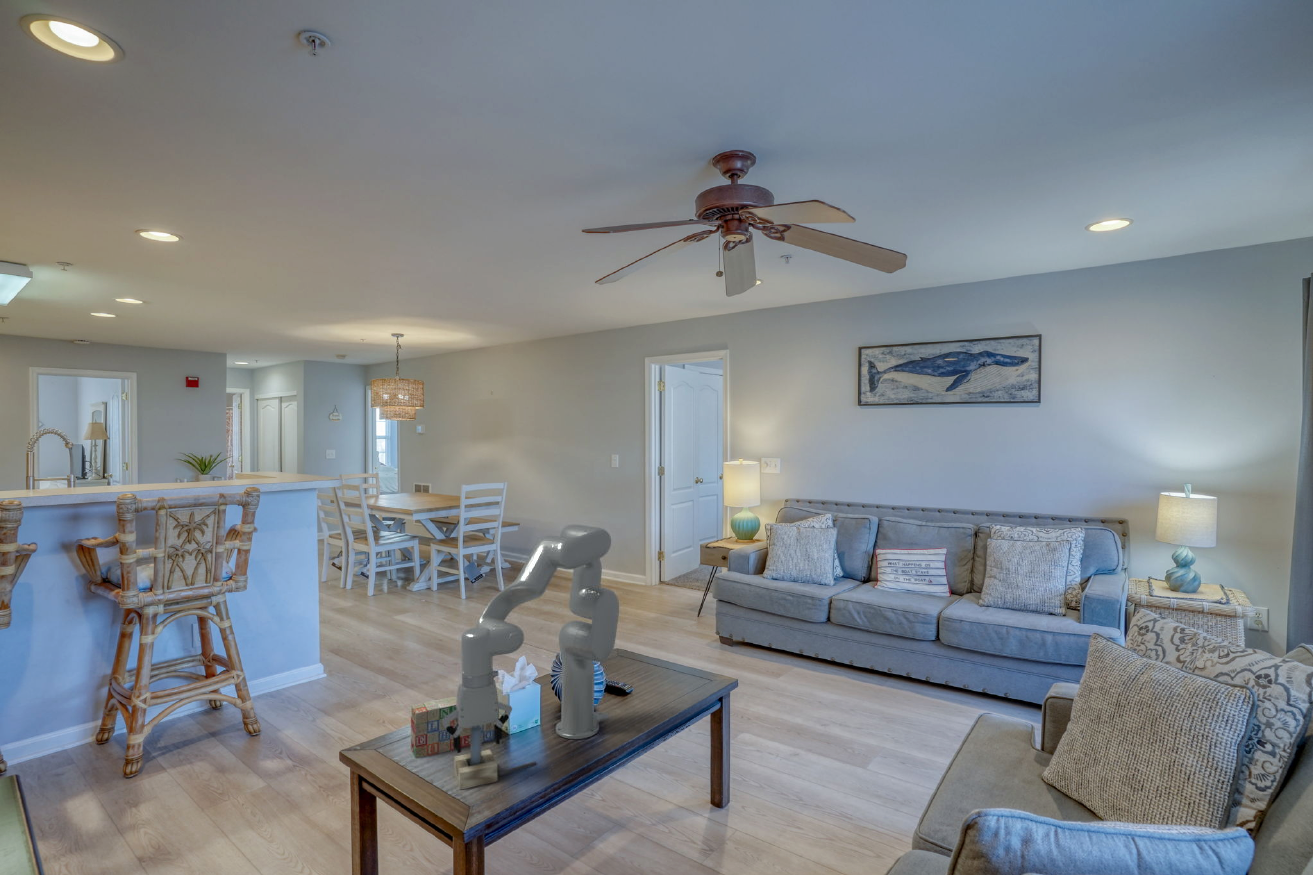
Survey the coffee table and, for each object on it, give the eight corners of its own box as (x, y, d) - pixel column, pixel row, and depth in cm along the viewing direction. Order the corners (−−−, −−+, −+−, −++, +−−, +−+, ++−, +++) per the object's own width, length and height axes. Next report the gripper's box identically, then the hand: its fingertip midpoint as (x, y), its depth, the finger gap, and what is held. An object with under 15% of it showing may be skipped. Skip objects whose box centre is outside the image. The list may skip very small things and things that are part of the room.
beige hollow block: (489, 764, 166) (489, 749, 166) (497, 781, 158) (497, 765, 158) (453, 772, 162) (454, 756, 162) (459, 789, 154) (460, 773, 154)
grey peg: (479, 773, 162) (480, 725, 162) (481, 778, 159) (482, 729, 159) (469, 775, 160) (469, 727, 161) (471, 780, 158) (471, 731, 158)
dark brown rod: (534, 763, 167) (534, 761, 167) (536, 764, 166) (536, 762, 166) (498, 774, 161) (498, 772, 161) (499, 775, 160) (499, 773, 160)
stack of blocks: (487, 731, 185) (488, 689, 185) (494, 740, 180) (494, 697, 180) (410, 749, 174) (411, 704, 174) (414, 759, 169) (415, 712, 169)
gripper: (508, 667, 167) (508, 732, 168) (439, 679, 160) (439, 747, 160) (515, 677, 161) (515, 745, 161) (443, 690, 153) (444, 761, 153)
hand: (477, 746), depth 160 cm, fingers open, 9 cm apart
